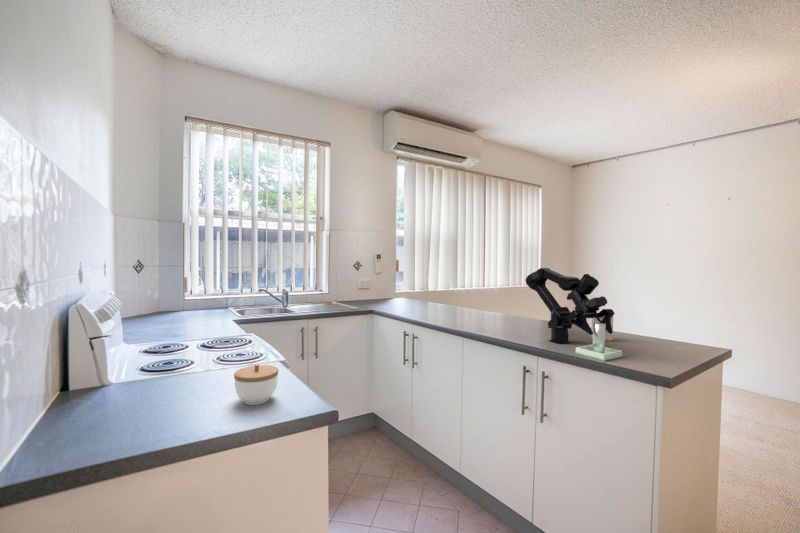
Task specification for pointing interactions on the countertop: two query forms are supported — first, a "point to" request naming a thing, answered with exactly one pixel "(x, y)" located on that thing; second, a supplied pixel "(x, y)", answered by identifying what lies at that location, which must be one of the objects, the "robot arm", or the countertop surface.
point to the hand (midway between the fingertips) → (601, 333)
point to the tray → (608, 354)
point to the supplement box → (607, 335)
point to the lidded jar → (256, 383)
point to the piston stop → (598, 337)
